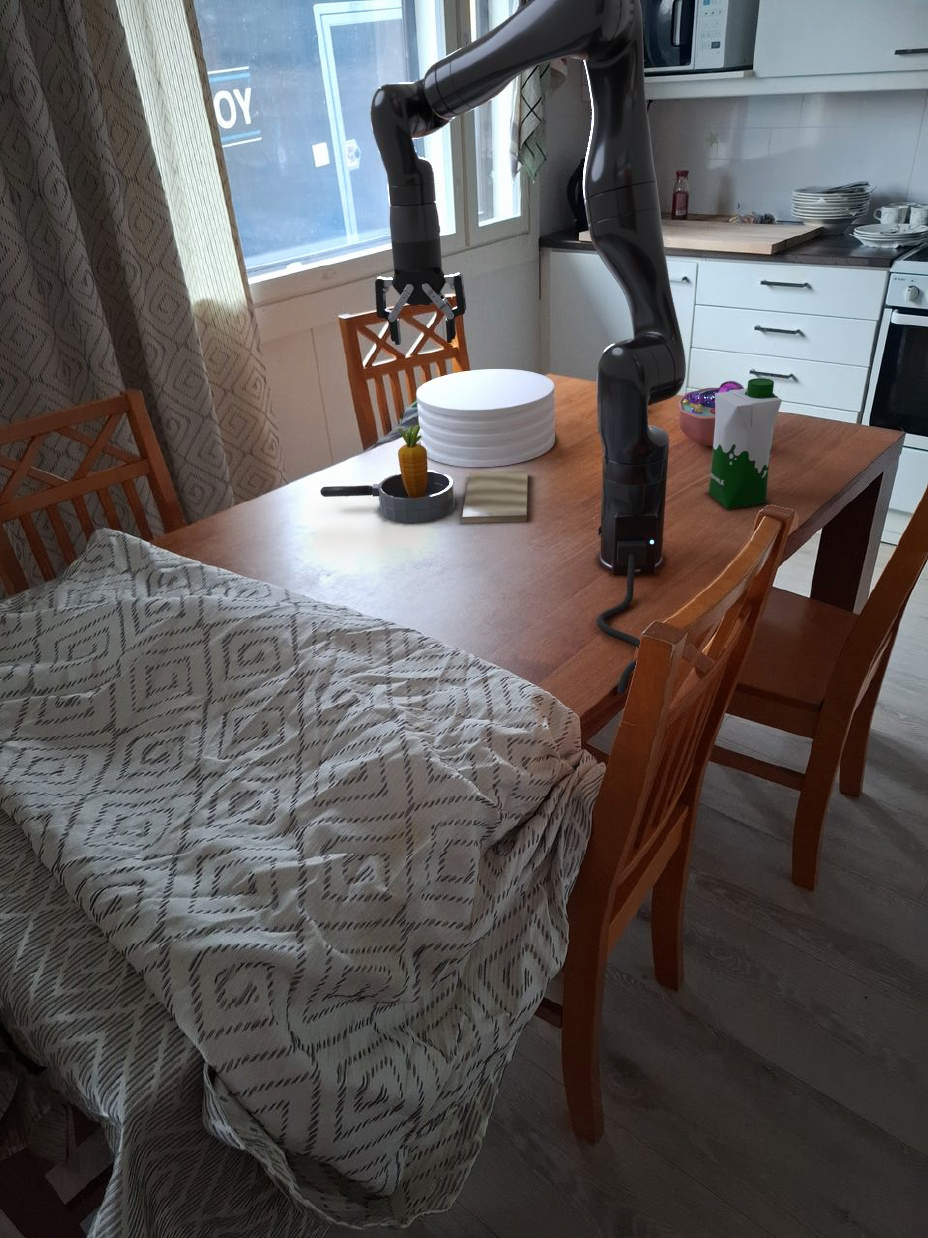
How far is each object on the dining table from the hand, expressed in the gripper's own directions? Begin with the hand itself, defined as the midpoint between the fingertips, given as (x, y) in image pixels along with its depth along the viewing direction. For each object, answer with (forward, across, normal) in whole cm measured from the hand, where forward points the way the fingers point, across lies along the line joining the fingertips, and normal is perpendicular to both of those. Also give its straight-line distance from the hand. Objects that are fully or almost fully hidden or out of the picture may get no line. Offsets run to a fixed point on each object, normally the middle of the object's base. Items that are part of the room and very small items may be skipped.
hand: (424, 342), depth 140 cm
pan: (+28, -3, -2) cm, 28 cm away
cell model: (+28, +54, +26) cm, 66 cm away
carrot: (+28, -3, -2) cm, 28 cm away
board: (+28, +11, +1) cm, 30 cm away
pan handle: (+25, -15, -3) cm, 30 cm away
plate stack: (+28, +7, +30) cm, 42 cm away
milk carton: (+28, +52, -2) cm, 59 cm away
